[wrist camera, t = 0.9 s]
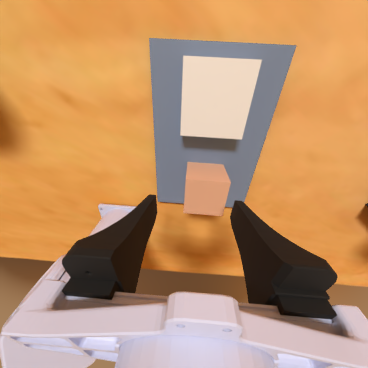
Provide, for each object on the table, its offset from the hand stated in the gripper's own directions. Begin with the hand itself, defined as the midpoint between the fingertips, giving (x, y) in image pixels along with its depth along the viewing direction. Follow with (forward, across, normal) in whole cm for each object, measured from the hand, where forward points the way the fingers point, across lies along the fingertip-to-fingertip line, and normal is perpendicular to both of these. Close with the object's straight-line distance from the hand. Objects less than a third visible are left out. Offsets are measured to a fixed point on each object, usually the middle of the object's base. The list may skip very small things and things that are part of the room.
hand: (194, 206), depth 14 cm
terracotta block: (+9, -2, +2) cm, 9 cm away
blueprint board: (+10, -2, -3) cm, 10 cm away
